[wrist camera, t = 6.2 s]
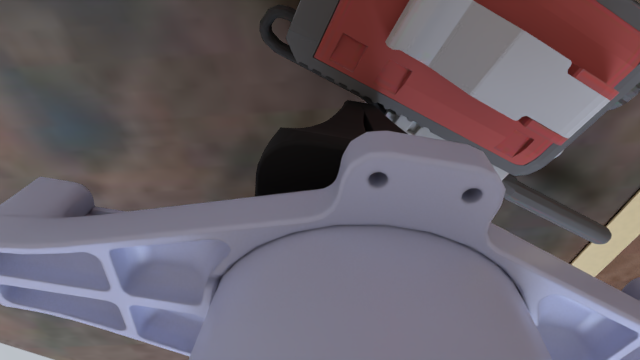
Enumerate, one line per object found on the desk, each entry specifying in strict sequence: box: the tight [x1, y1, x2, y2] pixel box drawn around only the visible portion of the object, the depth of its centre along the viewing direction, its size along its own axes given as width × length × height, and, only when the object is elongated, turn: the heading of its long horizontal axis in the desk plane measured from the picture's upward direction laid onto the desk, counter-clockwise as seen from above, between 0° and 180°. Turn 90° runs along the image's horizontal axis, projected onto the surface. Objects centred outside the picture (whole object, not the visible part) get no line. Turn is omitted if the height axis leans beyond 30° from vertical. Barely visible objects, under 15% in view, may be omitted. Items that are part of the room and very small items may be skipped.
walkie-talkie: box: [260, 0, 640, 244], centre depth 12 cm, size 9×4×20 cm
